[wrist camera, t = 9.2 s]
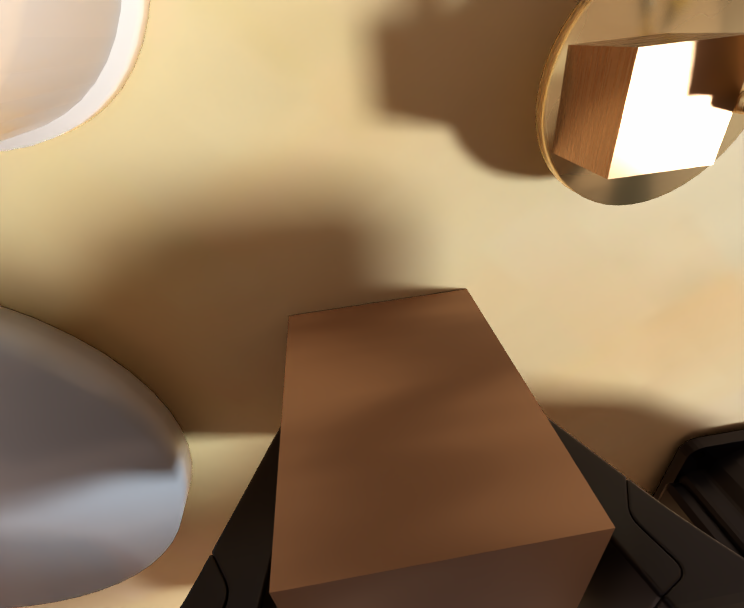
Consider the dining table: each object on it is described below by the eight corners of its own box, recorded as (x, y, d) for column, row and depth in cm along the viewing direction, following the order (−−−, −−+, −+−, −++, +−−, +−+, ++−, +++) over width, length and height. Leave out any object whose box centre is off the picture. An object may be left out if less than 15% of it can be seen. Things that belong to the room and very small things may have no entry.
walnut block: (466, 288, 10) (615, 527, 5) (461, 409, 13) (558, 647, 8) (288, 315, 10) (268, 592, 5) (319, 433, 12) (325, 694, 8)
